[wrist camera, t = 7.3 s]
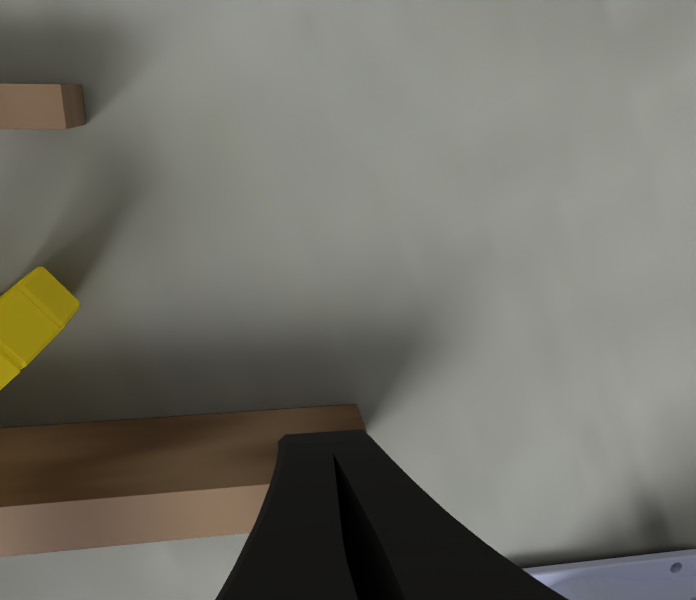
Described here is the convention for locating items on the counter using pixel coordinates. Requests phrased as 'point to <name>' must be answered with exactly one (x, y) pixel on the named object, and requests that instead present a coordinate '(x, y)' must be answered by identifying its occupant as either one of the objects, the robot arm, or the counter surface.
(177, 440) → the wooden u-shaped block
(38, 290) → the watch
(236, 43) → the counter surface
